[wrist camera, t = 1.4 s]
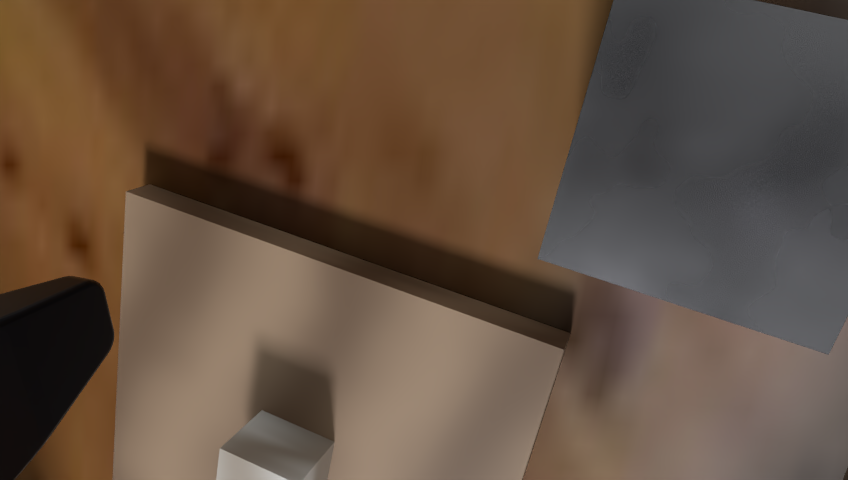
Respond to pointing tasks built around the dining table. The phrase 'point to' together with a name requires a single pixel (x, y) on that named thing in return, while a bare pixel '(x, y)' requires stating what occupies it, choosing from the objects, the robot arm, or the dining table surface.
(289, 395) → the tang plate
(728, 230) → the brushed metal cube
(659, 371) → the dining table surface
